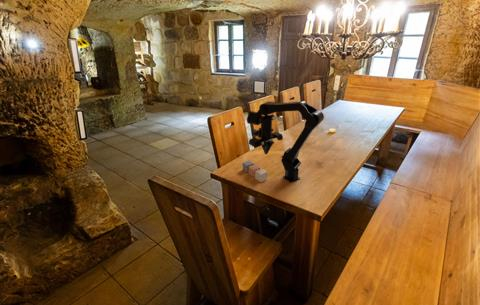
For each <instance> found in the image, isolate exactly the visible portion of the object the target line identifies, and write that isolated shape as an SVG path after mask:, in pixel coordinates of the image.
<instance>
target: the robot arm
mask: <svg viewBox="0 0 480 305" xmlns="http://www.w3.org/2000/svg"><path fill="white" fill-rule="evenodd" d="M282 112H283V113H284V112H298V113H300V115H301V116H302V118H303V119H304V120H305V122H304V125H303V126H304V127H303V129H302V131H301V132H300V134H299V136H298V137H297V139H296V140H295V142H294V144H293V145H292V147H288V149H286V150H284V152H283V154H282V156H281V157H280V158H281V160H280V161H281V164H282V165H283V166H282V167H283V169H284V176H282V178H283V179H285V180H286V181H288V182H289V183H293V182H297V181H298V180H301V177H299V170H300V169H299V167H300V166H301V164H302V163H301V161H300V160H299V159H298V157H299V154H300V153H299V152H300V150H301V149H302V148H303V146H304V145H305V143H306V142H307V140H309V139H308V138H309V137H310V136H311V134H312V132H313V131H314V130H315V129H316V128H317V127H318V126H319V125H320V124H321V123H322V122H323V121H324V119H325V116H324V113H323V112H322V111H320V110H318V109H317V108H316V107H315V106H313V105H311V104H309V103H308V102H307V101H305V100H301V101H293V102H292V101H290V102H289V101H288V102H275V101H266V102H264V103H261V104H260V105H259V107H258V110H257V111H253V110H251V111H249V112H248V115H247V116H246V122H247V124H249V125H252V126H253V125H254V126H259V125H260V127H259V129H251V136H254V138H250V139H249V140H248V145H250V146H251V147H253V148H258V147H261V148H262V150H263V152H264V155H268V153H269V152H270V150H271V148H272V147H273V145H274V144H275V141H274V140H275V139H276V140H277V141H282V140H283V139H284V138H283V137H284V136H283V134H282V133H280V132H278V131H274V128H273V121H274V120H276V119H277V117H276V116H275V115H274V113H282ZM257 137H258V138H257Z"/></svg>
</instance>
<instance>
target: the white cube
mask: <svg viewBox="0 0 480 305" xmlns="http://www.w3.org/2000/svg"><path fill="white" fill-rule="evenodd" d="M254 178H255V180H256V181H258V182H259V183H262V182H264V181H265V182H266V180H268V171H266V170H265V169H263V168H260V170H257V171H255V177H254Z"/></svg>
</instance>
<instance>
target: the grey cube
mask: <svg viewBox="0 0 480 305" xmlns="http://www.w3.org/2000/svg"><path fill="white" fill-rule="evenodd" d="M252 165H255V163H254V162H252V161H251V160H246V161H243V162H242V171H243V172H244V173H248V174H249V166H252Z"/></svg>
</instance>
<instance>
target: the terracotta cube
mask: <svg viewBox="0 0 480 305" xmlns="http://www.w3.org/2000/svg"><path fill="white" fill-rule="evenodd" d="M260 169H261V167H260V166H259V165H257V164H255V163H254V165H252V166H249V172H248V175H250V176H251V177H252V178H255V171H257V170H260Z"/></svg>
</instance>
